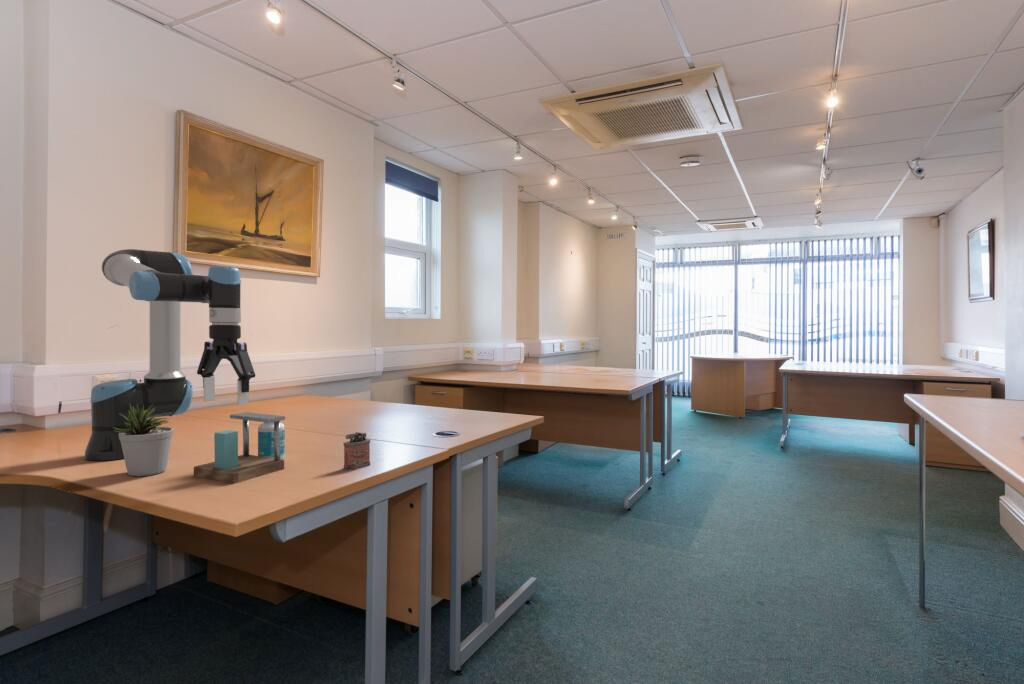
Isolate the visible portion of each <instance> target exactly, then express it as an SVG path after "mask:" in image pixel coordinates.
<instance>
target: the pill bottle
mask: <svg viewBox="0 0 1024 684" xmlns="http://www.w3.org/2000/svg"><path fill="white" fill-rule="evenodd" d="M285 430H286V429H285V425H284V423H282V422H280V460H284V459H285V457H286V455H285V454H286V451H285V450H286V449H285V445H286V442H285V438H286V437H285V435H286V433H285V432H286V431H285ZM257 456H261V457H267V458H274V422H271V423H266V422H262V423H261V424H260V425H258V427H257Z"/></svg>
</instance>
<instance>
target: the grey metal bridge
mask: <svg viewBox="0 0 1024 684" xmlns="http://www.w3.org/2000/svg"><path fill="white" fill-rule="evenodd" d="M229 419H233V420H240V421H241V420H242V455H243V456H249V455H250V421H251V422H259V423H264V422H266V423H271V422H274V461H280V423H281V421H285V420H286V415H275V414H267V413H257V412H251V411H250V412H249V411H248V412H247V411H244V412H239V413H233V414H229Z"/></svg>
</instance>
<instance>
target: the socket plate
mask: <svg viewBox="0 0 1024 684" xmlns="http://www.w3.org/2000/svg"><path fill="white" fill-rule="evenodd" d="M284 469H285V460H284V459H283V460H280V461H274V458H267V457H261V456H258V455H253V454H249V456H243V454H241V455H238V467H235V468H231V469H228V470H220V469H215V461H212V462H207V463H205V464H200V465H196V466H193V477H197V478H202V479H203V478H204V479H208V480H213V481H217V482H223V483H229V484H236V483H240V482H244V481H247V480H251V479H255V478H258V477H261V476H265V475H269V474H271V473H275V472H278V471H281V470H284ZM264 474H265V475H264ZM254 477H255V478H254Z"/></svg>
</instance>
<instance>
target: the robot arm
mask: <svg viewBox="0 0 1024 684" xmlns="http://www.w3.org/2000/svg"><path fill="white" fill-rule="evenodd" d="M101 272H102V274H103V276H104V277H105V279H106V280H108V281H109V282H110V283H113V284H114V285H116V286H121V287H127V288H128V289H129V293H130V295H131V298H132V299H134V300H136V301H144V302H149V371H148V373H146V374H145V375H144V376H143V382H139V381H138V380H137V379H135V378H127V379H118V380H112V381H111V380H110V381H105V382H101V383H98V384H96V385H94V386H93V387H92V389H91V394H90V401H89V402H90V408H91V409H90V411H91V412H90V414H91V434H90V437H89V439H88V442H87V444H86V448H85V451H84V459H85V460H87V461H93V462H96V461H97V462H98V461H103V462H104V461H105V462H106V461H114V460H121V459H122V460H123V459H124V455H123V450H122V445H121V441H120V440H119V432H116V431H120V430H116V429H114V428H118V429H128V428H129V427H128V426H126V425H125V424H124V423H128V424H130V423H129V421H128V420H127V419H126V418H124V417H123V416H125V417H127V418H128V419H129V411H130V414H131V413H132V412H131V409H130V405H131V408H132V407H134V408H135V410H136V412H137V404H138V410H139V413H141V411H142V409H143V405H144V411H145V410H148V408H149V407H150V406H151V405H152V404H153V405H152V406H151V408H150V409H149V411H150V410H152V409H153V408H155V410H154V409H153V410H154V412H152V413H151V414H150V415H149V417H148V419H150V418H152V417H154V416H159V417H158V418H164V417H173V416H179V415H183V414H184V413H186V412H187V411H188V410H189V408H190V406H191V405H192V401H193V395H194V394H193V393H194V390H193V385H192V382H191V380H189V379H187V378H186V377H187V376H186V374H185V373H184V372H183V371H182V370H181V303H201V304H208V308H209V311H208V314H209V317H208V320H209V323H210V325H209V326H208V335H209V336H208V337H209V339H211V340H212V341H204V346H203V348H204V349H203V352H202V355H201V357H200V362H199V364H198V368H197V370H196V374H197V375H199V376H201V377H202V387H203V402H205V403H206V402H213V401H215V399H216V397H215V396H216V394H215V393H216V392H215V382H216V381H215V374H214V373H215V371H216V369H218V367H219V364H220V363H221V361H223V360H227V361H229V363H230V365H231V366H232V368H233V370H234V371H235V374H236V375H237V377H238V378H237V380H236V381H237V383H236V385H237V387H236V388H237V389H236V390H237V392H236V395H237V401H236V402H237V405H236V406H244V405H249V392H250V380H251V379H254V378H255V377H256V372H255V369H254V366H253V363H252V361H251V358H250V355H249V351H248V345H247V342H238V340H239V339H241V337H242V332H241V331H242V328H241V327H242V326H241V325H240V323H242V315H241V314H242V312H241V311H242V310H241V283H242V279H241V271H240V269H239V268H238V267H235V266H230V265H229V266H227V265H212V266H209V268H208V274H207V275H202V274H194V273H193V268H192V265H191V262H190V259H188V258H187V256H185V255H183V254H181V253H175V252H170V251H158V250H157V251H156V250H155V251H154V250H147V249H146V250H143V249H133V248H129V249H127V248H126V249H120V250H116V251H114V252H111V253H110V254H108V255H107V256H106V257H104V259H103V261H102V263H101ZM132 410H133V408H132ZM153 410H152V411H153ZM149 411H148V412H149ZM118 413H120V414H122V415H123V416H122V415H120V414H118ZM145 413H146V412H145ZM131 415H132V414H131ZM144 415H145V414H144ZM132 416H133V415H132ZM113 427H114V428H113ZM114 430H116V431H114Z"/></svg>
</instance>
